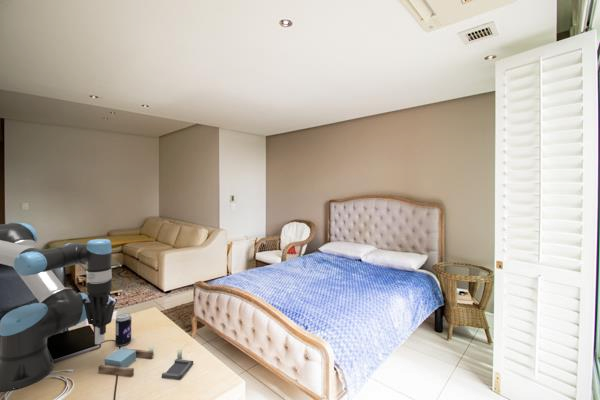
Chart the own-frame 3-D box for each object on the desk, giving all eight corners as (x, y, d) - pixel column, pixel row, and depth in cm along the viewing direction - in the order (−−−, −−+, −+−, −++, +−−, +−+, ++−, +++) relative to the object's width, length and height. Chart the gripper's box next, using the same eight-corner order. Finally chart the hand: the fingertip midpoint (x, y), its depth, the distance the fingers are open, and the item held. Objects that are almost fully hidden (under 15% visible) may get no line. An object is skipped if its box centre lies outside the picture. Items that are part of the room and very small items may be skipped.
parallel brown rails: (98, 373, 99) (98, 366, 99) (122, 354, 110) (122, 348, 110) (131, 377, 98) (131, 370, 97) (152, 357, 109) (152, 351, 109)
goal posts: (148, 356, 110) (148, 348, 110) (150, 353, 111) (150, 346, 111) (180, 359, 108) (180, 352, 108) (182, 357, 110) (182, 349, 110)
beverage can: (123, 347, 115) (123, 319, 115) (112, 345, 116) (112, 317, 116) (134, 340, 120) (134, 313, 120) (123, 338, 122) (123, 312, 121)
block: (104, 369, 102) (104, 358, 101) (120, 358, 108) (120, 348, 108) (120, 372, 100) (120, 361, 100) (135, 360, 107) (135, 350, 107)
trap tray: (161, 377, 98) (161, 374, 98) (175, 362, 106) (176, 359, 106) (180, 379, 97) (180, 376, 97) (193, 364, 106) (193, 360, 106)
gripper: (74, 283, 101) (75, 346, 102) (107, 285, 100) (107, 349, 100) (92, 276, 109) (92, 335, 109) (122, 278, 107) (123, 338, 108)
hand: (99, 342), depth 105 cm, fingers closed
